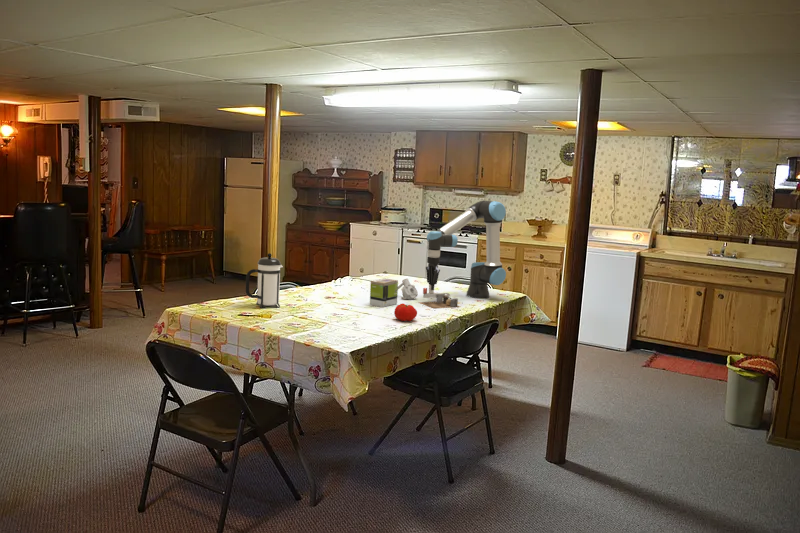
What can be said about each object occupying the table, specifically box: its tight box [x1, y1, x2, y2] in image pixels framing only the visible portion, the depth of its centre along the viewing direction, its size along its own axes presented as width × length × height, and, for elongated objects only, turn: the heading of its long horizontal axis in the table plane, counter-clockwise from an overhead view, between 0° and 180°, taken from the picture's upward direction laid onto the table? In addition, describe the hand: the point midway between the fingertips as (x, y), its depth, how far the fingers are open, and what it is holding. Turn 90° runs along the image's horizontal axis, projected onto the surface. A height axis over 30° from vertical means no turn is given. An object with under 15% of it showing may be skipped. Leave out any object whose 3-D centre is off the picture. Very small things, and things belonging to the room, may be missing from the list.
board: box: [417, 298, 461, 310], centre depth 381 cm, size 20×18×6 cm
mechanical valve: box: [398, 278, 419, 301], centre depth 403 cm, size 10×18×15 cm
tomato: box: [393, 303, 418, 322], centre depth 339 cm, size 13×12×8 cm
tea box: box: [369, 278, 399, 308], centre depth 377 cm, size 15×10×15 cm, turn 145°
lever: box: [422, 287, 451, 303], centre depth 383 cm, size 17×5×8 cm, turn 105°
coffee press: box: [245, 252, 284, 309], centre depth 351 cm, size 17×16×30 cm
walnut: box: [446, 298, 451, 306], centre depth 379 cm, size 4×4×4 cm
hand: (431, 294), depth 385 cm, fingers closed
